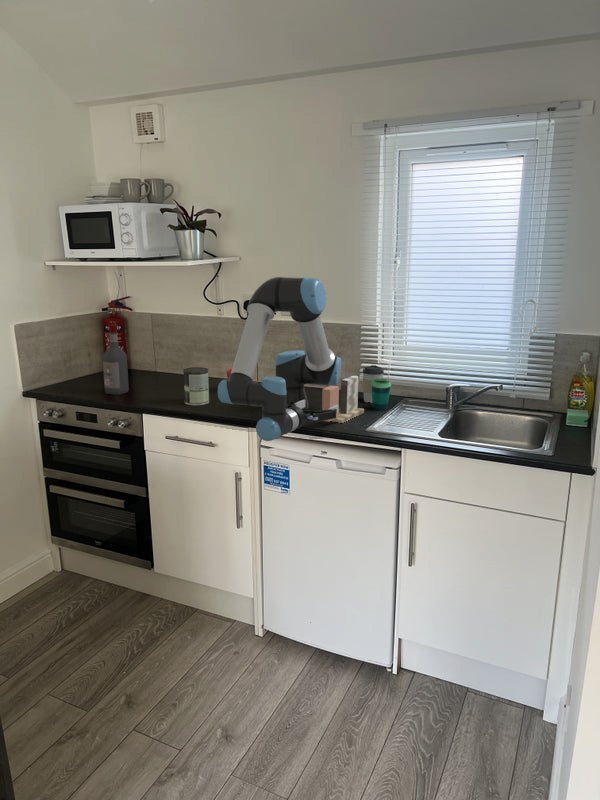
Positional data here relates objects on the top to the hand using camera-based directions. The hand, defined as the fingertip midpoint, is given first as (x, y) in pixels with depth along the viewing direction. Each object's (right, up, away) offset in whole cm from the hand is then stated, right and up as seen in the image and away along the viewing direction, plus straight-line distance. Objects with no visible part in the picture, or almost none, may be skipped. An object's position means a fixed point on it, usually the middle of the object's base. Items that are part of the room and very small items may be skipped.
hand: (320, 405), depth 221 cm
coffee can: (-51, +1, +37) cm, 63 cm away
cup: (+25, -2, +31) cm, 40 cm away
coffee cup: (+23, +1, +43) cm, 49 cm away
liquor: (-89, +5, +54) cm, 104 cm away
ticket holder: (+9, -4, +18) cm, 20 cm away
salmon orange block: (+4, -5, +8) cm, 10 cm away
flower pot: (-35, +6, +58) cm, 68 cm away
